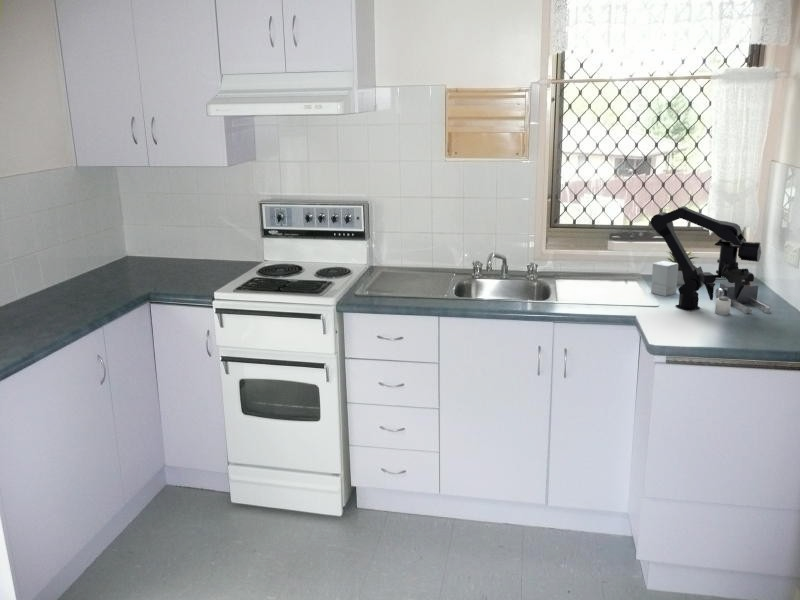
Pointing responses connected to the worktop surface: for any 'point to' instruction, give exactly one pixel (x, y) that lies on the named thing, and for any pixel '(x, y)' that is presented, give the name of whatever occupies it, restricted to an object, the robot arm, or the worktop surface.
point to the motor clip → (742, 297)
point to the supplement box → (664, 278)
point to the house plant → (680, 276)
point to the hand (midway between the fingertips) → (723, 299)
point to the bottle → (723, 305)
